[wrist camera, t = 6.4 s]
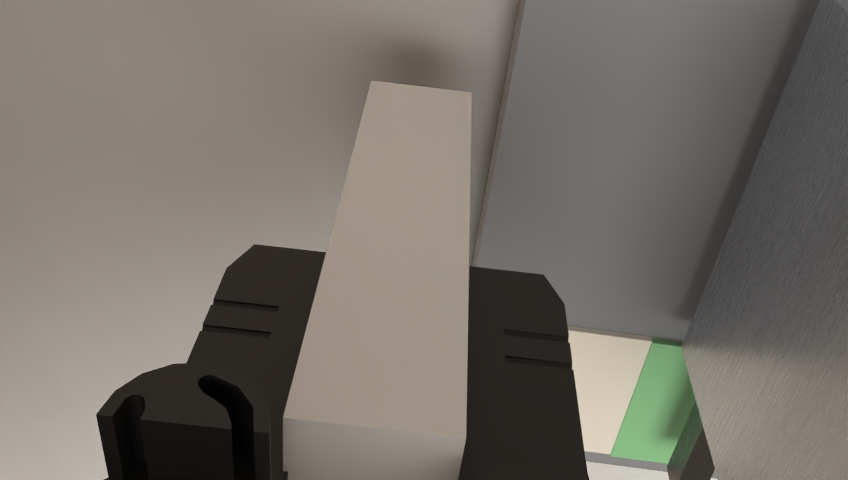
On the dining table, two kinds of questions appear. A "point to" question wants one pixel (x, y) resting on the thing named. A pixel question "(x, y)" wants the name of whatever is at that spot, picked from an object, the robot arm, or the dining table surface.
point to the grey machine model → (780, 293)
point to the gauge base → (631, 185)
